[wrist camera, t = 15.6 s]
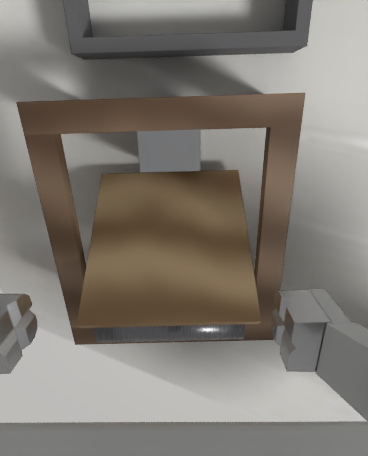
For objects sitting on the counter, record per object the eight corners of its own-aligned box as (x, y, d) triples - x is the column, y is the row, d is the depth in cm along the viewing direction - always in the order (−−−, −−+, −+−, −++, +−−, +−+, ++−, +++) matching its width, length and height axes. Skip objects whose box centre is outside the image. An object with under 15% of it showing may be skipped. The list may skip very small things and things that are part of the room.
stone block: (200, 170, 23) (200, 104, 21) (140, 172, 23) (134, 106, 21) (197, 160, 28) (197, 105, 26) (147, 161, 28) (143, 106, 26)
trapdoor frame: (252, 286, 34) (273, 339, 26) (99, 290, 34) (75, 344, 26) (268, 96, 25) (305, 92, 18) (66, 103, 26) (16, 102, 18)
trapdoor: (253, 341, 22) (263, 333, 19) (89, 345, 22) (74, 337, 19) (233, 192, 30) (237, 169, 27) (110, 195, 30) (101, 173, 27)
